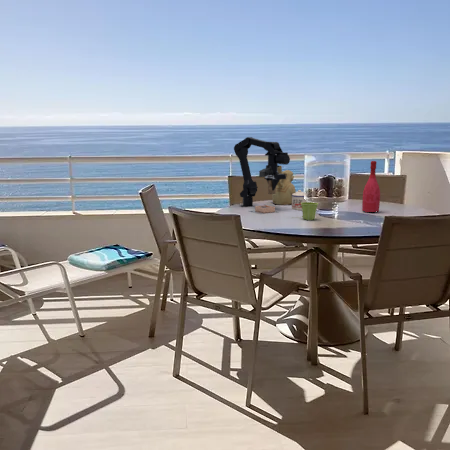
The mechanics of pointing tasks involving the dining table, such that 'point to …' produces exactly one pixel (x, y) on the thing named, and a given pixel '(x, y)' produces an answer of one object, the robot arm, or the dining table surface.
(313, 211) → the plant pot
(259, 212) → the slate board
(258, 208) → the open square box
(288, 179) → the ceramic vessel
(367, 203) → the wine bottle
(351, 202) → the dining table surface
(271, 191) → the beveled wooden wedge block
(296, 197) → the teacup with lid
